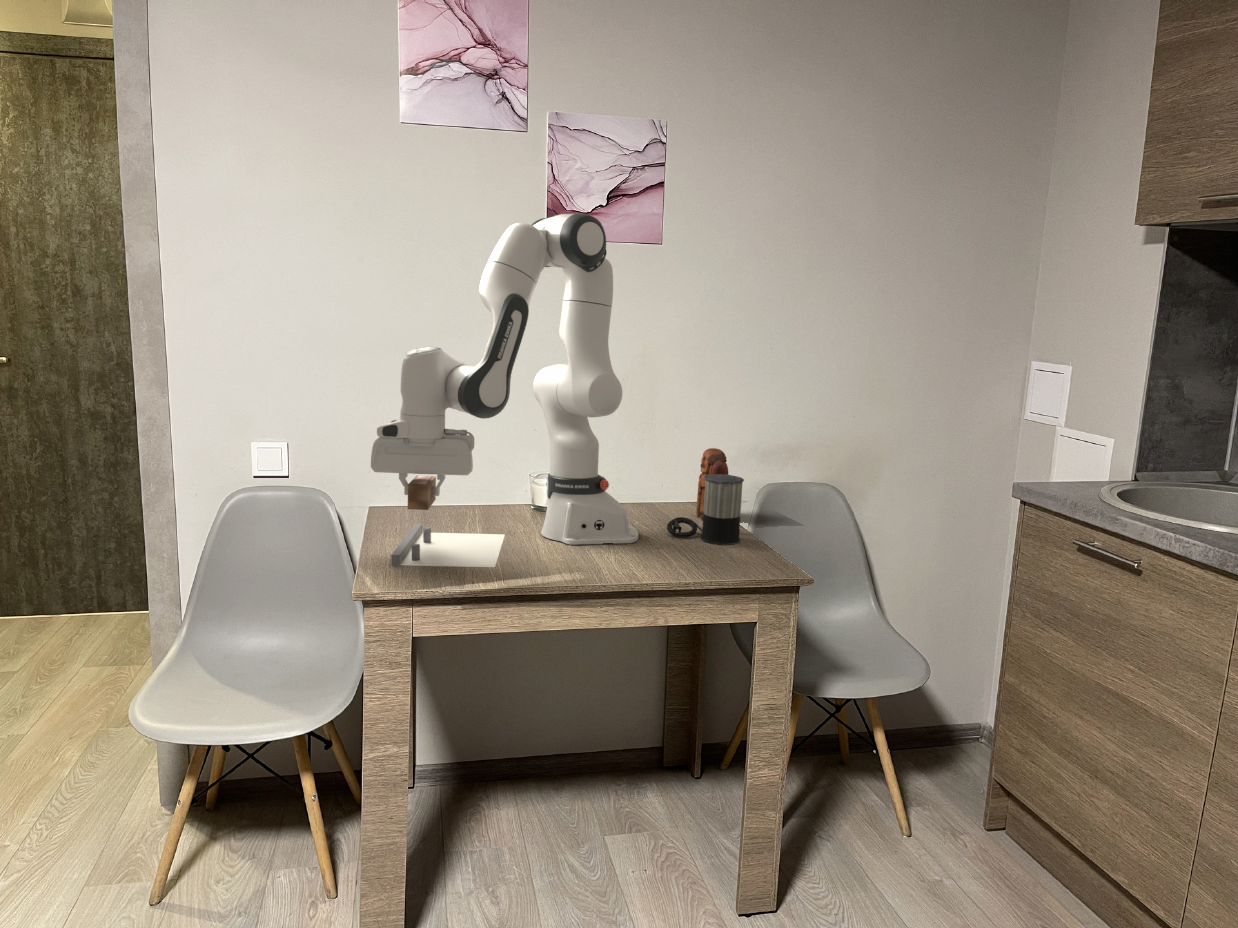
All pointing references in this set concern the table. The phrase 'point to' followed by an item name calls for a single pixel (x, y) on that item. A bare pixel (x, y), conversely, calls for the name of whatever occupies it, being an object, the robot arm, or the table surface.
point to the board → (447, 549)
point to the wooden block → (421, 492)
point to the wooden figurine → (709, 473)
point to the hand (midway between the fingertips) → (422, 495)
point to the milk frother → (716, 511)
